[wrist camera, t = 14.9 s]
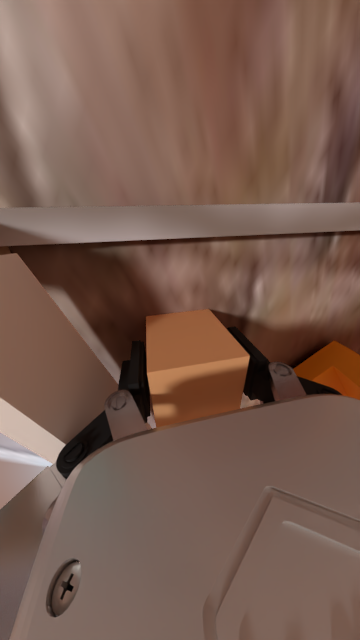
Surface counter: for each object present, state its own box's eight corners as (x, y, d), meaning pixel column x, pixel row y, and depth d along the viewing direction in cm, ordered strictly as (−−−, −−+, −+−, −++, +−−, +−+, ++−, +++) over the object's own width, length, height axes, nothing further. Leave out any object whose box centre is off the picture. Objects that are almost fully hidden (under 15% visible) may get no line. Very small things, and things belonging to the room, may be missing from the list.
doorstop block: (145, 316, 13) (146, 372, 7) (208, 308, 13) (249, 355, 8) (153, 366, 15) (158, 436, 10) (206, 357, 16) (237, 418, 10)
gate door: (16, 252, 8) (-166, 278, 3) (173, 456, 20) (182, 528, 15) (-26, 268, 8) (-272, 317, 3) (155, 462, 20) (159, 537, 15)
